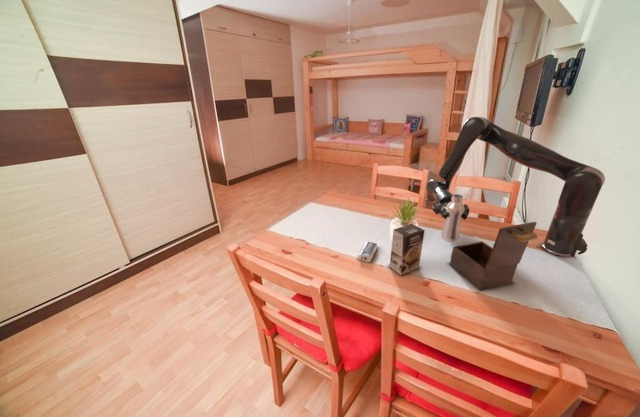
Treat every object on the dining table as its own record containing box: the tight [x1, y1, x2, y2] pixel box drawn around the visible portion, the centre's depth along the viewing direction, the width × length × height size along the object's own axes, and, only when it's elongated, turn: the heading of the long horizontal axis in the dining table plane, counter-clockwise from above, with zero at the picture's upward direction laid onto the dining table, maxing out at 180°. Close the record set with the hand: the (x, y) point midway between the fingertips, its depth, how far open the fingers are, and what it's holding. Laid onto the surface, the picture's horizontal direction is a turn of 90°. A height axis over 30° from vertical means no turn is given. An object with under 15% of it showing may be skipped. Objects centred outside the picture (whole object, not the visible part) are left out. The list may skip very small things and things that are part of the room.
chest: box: [449, 241, 518, 291], centre depth 92 cm, size 15×13×8 cm
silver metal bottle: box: [441, 193, 464, 244], centre depth 105 cm, size 6×7×20 cm
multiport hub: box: [358, 241, 378, 263], centre depth 106 cm, size 4×11×2 cm, turn 154°
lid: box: [485, 221, 538, 270], centre depth 78 cm, size 15×13×5 cm
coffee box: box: [389, 223, 426, 276], centre depth 95 cm, size 9×6×16 cm
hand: (455, 217), depth 102 cm, fingers closed on silver metal bottle, 6 cm apart
